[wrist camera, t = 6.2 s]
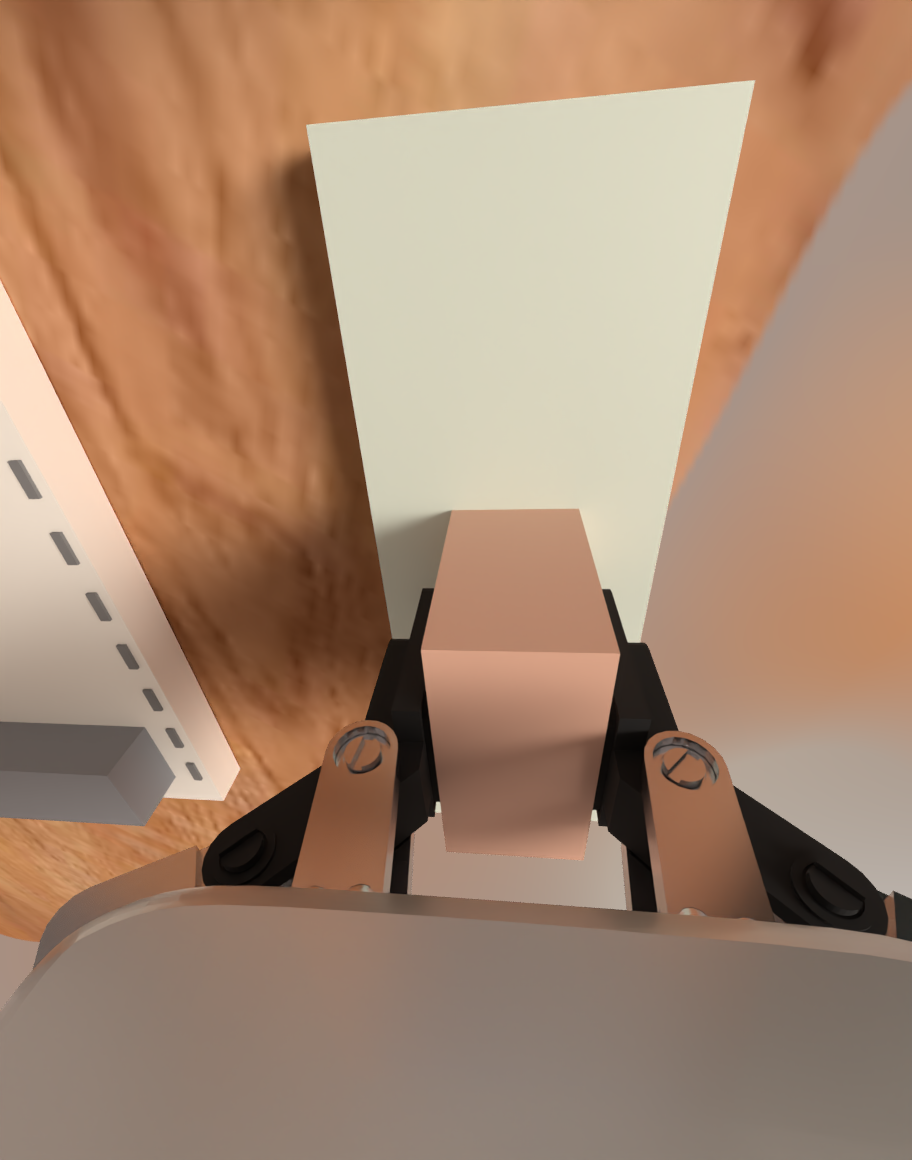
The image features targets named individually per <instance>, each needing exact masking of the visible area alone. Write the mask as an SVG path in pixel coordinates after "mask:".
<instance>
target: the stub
mask: <svg viewBox="0 0 912 1160" xmlns="http://www.w3.org/2000/svg"><path fill="white" fill-rule="evenodd" d="M754 83H755V80H752V81H742V82H732V83H722V84H712V85H702V86H692V87H682V88H672V89H662V90H652V91H642V92H632V93H622V94H612V95H602V96H591V97H581V98H571V99H561V100H551V101H541V102H531V103H521V104H511V105H501V106H491V107H481V108H471V109H461V110H451V111H441V112H431V113H421V114H411V115H401V116H391V117H381V118H371V119H361V120H351V121H341V122H331V123H321V124H311V125H306V127H307V133H308V139H309V145H310V151H311V157H312V163H313V169H314V175H315V181H316V187H317V193H318V199H319V204H320V210H321V216H322V222H323V228H324V234H325V240H326V246H327V252H328V258H329V264H330V270H331V276H332V282H333V288H334V294H335V300H336V306H337V312H338V318H339V324H340V330H341V336H342V342H343V348H344V354H345V360H346V366H347V372H348V377H349V383H350V389H351V395H352V401H353V407H354V413H355V419H356V425H357V431H358V437H359V443H360V449H361V455H362V461H363V467H364V473H365V479H366V485H367V491H368V497H369V503H370V509H371V515H372V521H373V527H374V533H375V539H376V545H377V550H378V556H379V562H380V568H381V574H382V580H383V586H384V592H385V598H386V604H387V610H388V616H389V622H390V628H391V634H392V639H410V635H411V631H412V627H413V623H414V619H415V615H416V611H417V607H418V604H419V600H420V596H421V592H422V589H423V588H434V593H433V597H432V602H431V606H430V611H429V615H428V620H427V624H426V629H425V633H424V638H423V642H422V647H421V655H422V663H423V671H424V679H425V687H426V695H427V702H428V710H429V718H430V726H431V734H432V742H433V750H434V758H435V765H436V773H437V781H438V789H439V797H440V802H436V809H435V812H439V813H442V820H443V828H444V836H445V844H446V851H447V852H459V853H475V854H491V855H508V856H524V857H539V858H554V859H570V860H584V855H585V849H586V843H587V838H588V832H589V827H590V821H598V818H597V812H596V810H593V804H594V799H595V793H596V787H597V782H598V776H599V770H600V765H601V759H602V754H603V748H604V742H605V737H606V731H607V725H608V720H609V714H610V709H611V703H612V697H613V692H614V686H615V680H616V675H617V669H618V664H619V658H620V651H619V647H618V644H617V640H616V637H615V633H614V630H613V626H612V623H611V619H610V616H609V612H608V609H607V605H606V602H605V598H604V595H603V591H602V589H610V590H611V591H612V594H613V597H614V600H615V603H616V607H617V610H618V613H619V616H620V620H621V623H622V626H623V629H624V632H625V636H626V639H627V642H630V643H640V640H641V635H642V630H643V625H644V620H645V615H646V611H647V606H648V601H649V595H650V591H651V586H652V581H653V576H654V571H655V567H656V562H657V557H658V552H659V547H660V542H661V537H662V532H663V527H664V523H665V518H666V513H667V508H668V503H669V498H670V493H671V488H672V483H673V479H674V474H675V469H676V464H677V459H678V454H679V449H680V444H681V439H682V435H683V430H684V425H685V420H686V415H687V410H688V405H689V400H690V395H691V391H692V386H693V381H694V376H695V371H696V366H697V361H698V356H699V351H700V347H701V342H702V337H703V332H704V327H705V322H706V317H707V312H708V307H709V303H710V298H711V293H712V288H713V283H714V278H715V273H716V268H717V263H718V259H719V254H720V249H721V244H722V239H723V234H724V229H725V224H726V219H727V215H728V210H729V205H730V200H731V195H732V190H733V185H734V180H735V175H736V171H737V166H738V161H739V156H740V151H741V146H742V141H743V136H744V131H745V127H746V122H747V117H748V112H749V107H750V102H751V97H752V92H753V87H754Z"/></svg>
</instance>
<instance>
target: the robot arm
mask: <svg viewBox="0 0 912 1160" xmlns="http://www.w3.org/2000/svg"><path fill="white" fill-rule="evenodd" d="M602 591H603V595H604V598H605V602H606V605H607V609H608V612H609V616H610V619H611V623H612V626H613V630H614V633H615V637H616V640H617V644H618V647H619V651H620V658H619V664H618V669H617V675H616V680H615V686H614V692H613V697H612V703H611V709H610V714H609V720H608V725H607V731H606V737H605V742H604V748H603V754H602V759H601V765H600V770H599V776H598V782H597V787H596V793H595V799H594V804H593V810H596V812H597V818H598V824H599V826H607V827H608V831H609V832H610V833H611V834H612V835H613V836H615V837H616V838H617V839H618V840H619V841H620V842H621V852H622V864H623V875H624V886H625V897H626V909H627V910H615V909H602V908H588V907H575V906H562V905H548V904H534V903H521V902H507V901H493V900H492V901H491V900H479V899H465V898H451V897H437V896H422V895H411V890H412V889H411V888H412V873H413V856H414V839H415V834H414V832H415V831H416V830H417V829H418V828H419V827H421V826H422V825H423V824H425V823H426V822H427V821H428V817H434V816H435V809H436V802H440V797H439V789H438V781H437V773H436V765H435V758H434V750H433V742H432V734H431V726H430V718H429V710H428V702H427V695H426V687H425V679H424V671H423V663H422V655H421V647H422V642H423V638H424V633H425V629H426V624H427V620H428V615H429V611H430V606H431V602H432V597H433V593H434V588H423V589H422V592H421V596H420V600H419V604H418V607H417V611H416V615H415V619H414V623H413V627H412V631H411V635H410V639H391V640H390V642H389V644H388V647H387V650H386V654H385V657H384V660H383V663H382V667H381V670H380V673H379V676H378V680H377V683H376V686H375V689H374V693H373V696H372V699H371V702H370V706H369V709H368V712H367V715H366V719H365V721H359V722H355V723H352V724H350V725H348V726H346V727H344V728H343V729H341V730H340V731H339V732H337V733H336V734H335V736H334V737H333V738H332V739H331V740H330V742H329V744H328V747H327V749H326V752H325V756H324V760H323V764H322V766H320V767H319V768H317V769H316V770H314V771H313V772H311V773H310V774H308V775H307V776H305V777H303V778H302V779H300V780H299V781H297V782H296V783H294V784H293V785H291V786H289V787H288V788H286V789H285V790H283V791H282V792H280V793H279V794H277V795H276V796H274V797H272V798H271V799H269V800H268V801H266V802H265V803H263V804H262V805H260V806H259V807H257V808H255V809H254V810H252V811H251V812H249V813H248V814H246V815H245V816H243V817H242V818H240V819H238V820H237V821H235V822H234V823H232V824H231V825H230V826H228V827H227V828H226V829H225V830H223V831H222V832H221V833H220V834H219V835H218V836H217V837H216V839H215V840H214V841H213V842H212V843H211V845H210V846H208V847H206V848H203V849H201V850H199V849H198V847H197V846H194V847H191V848H188V849H186V850H183V851H181V852H178V853H176V854H173V855H171V856H168V857H166V858H163V859H161V860H158V861H156V862H153V863H151V864H148V865H145V866H143V867H140V868H138V869H135V870H133V871H130V872H128V873H125V874H123V875H120V876H118V877H115V878H113V879H110V880H108V881H105V882H102V883H100V884H97V885H95V886H92V887H90V888H88V889H86V890H84V891H82V892H81V893H79V894H77V895H75V896H74V897H72V898H71V899H70V900H69V901H68V902H67V903H66V904H64V905H63V906H62V907H61V908H60V909H59V910H58V911H57V913H56V914H55V915H54V916H53V918H52V919H51V920H50V922H49V923H48V924H47V926H46V929H45V931H44V933H43V935H42V938H41V940H40V944H39V948H38V951H37V955H36V959H35V963H34V967H33V970H32V971H31V973H30V974H29V975H28V976H27V977H26V978H25V980H24V981H23V982H22V983H21V984H20V986H19V987H18V988H17V990H16V991H15V992H14V993H13V995H12V996H11V997H10V999H9V1000H8V1001H7V1002H6V1004H5V1005H4V1006H3V1008H2V1009H1V1010H0V1160H912V899H911V898H908V897H906V896H904V895H902V894H900V893H897V892H895V891H893V892H892V893H891V894H890V895H887V894H884V893H882V892H880V891H878V890H876V888H875V887H874V886H873V885H872V883H871V882H870V881H869V880H868V879H867V878H866V877H865V876H864V874H863V873H861V872H860V871H859V870H858V869H857V868H855V867H854V866H853V865H851V864H850V863H849V862H848V861H846V860H845V859H843V858H842V857H840V856H839V855H837V854H836V853H834V852H833V851H831V850H830V849H828V848H827V847H825V846H824V845H822V844H821V843H819V842H818V841H816V840H815V839H813V838H812V837H810V836H809V835H807V834H806V833H804V832H803V831H801V830H800V829H798V828H797V827H795V826H794V825H792V824H791V823H789V822H788V821H786V820H785V819H783V818H782V817H780V816H778V815H777V814H775V813H774V812H773V811H771V810H769V809H768V808H766V807H765V806H763V805H762V804H760V803H759V802H757V801H756V800H754V799H753V798H751V797H750V796H748V795H747V794H745V793H744V792H742V791H741V790H739V789H738V788H736V787H735V786H733V784H732V780H731V777H730V774H729V771H728V768H727V766H726V763H725V762H724V759H723V757H722V756H721V755H720V754H719V753H718V752H717V750H716V749H715V748H714V747H713V746H711V745H710V744H709V743H707V742H706V741H704V740H703V739H701V738H699V737H697V736H695V735H692V734H690V733H685V732H681V731H678V728H677V725H676V723H675V720H674V717H673V714H672V712H671V709H670V706H669V703H668V700H667V698H666V695H665V692H664V689H663V686H662V684H661V681H660V679H659V676H658V673H657V670H656V667H655V664H654V662H653V659H652V656H651V653H650V650H649V648H648V646H647V645H646V644H645V643H630V642H627V639H626V636H625V632H624V629H623V626H622V623H621V620H620V616H619V613H618V610H617V607H616V603H615V600H614V597H613V594H612V591H611V590H610V589H602Z"/></svg>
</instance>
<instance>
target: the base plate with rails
mask: <svg viewBox="0 0 912 1160" xmlns="http://www.w3.org/2000/svg"><path fill="white" fill-rule="evenodd" d="M239 770H240V767H239V765H238V763H237V761H236V759H235V757H234V755H233V753H232V751H231V749H230V747H229V745H228V743H227V741H226V739H225V737H224V735H223V733H222V731H221V729H220V727H219V724H218V722H217V720H216V718H215V716H214V714H213V712H212V710H211V708H210V706H209V704H208V702H207V700H206V698H205V696H204V694H203V692H202V690H201V688H200V686H199V684H198V682H197V680H196V678H195V676H194V674H193V672H192V670H191V667H190V665H189V663H188V661H187V659H186V657H185V655H184V653H183V651H182V649H181V647H180V645H179V643H178V641H177V639H176V637H175V635H174V633H173V631H172V629H171V627H170V625H169V623H168V621H167V619H166V617H165V615H164V612H163V610H162V608H161V606H160V604H159V602H158V600H157V598H156V596H155V594H154V592H153V590H152V588H151V586H150V584H149V582H148V580H147V578H146V576H145V574H144V572H143V570H142V568H141V566H140V564H139V562H138V560H137V558H136V555H135V553H134V551H133V549H132V547H131V545H130V543H129V541H128V539H127V537H126V535H125V533H124V531H123V529H122V527H121V525H120V523H119V521H118V519H117V517H116V515H115V513H114V511H113V509H112V507H111V505H110V503H109V501H108V498H107V496H106V494H105V492H104V490H103V488H102V486H101V484H100V482H99V480H98V478H97V476H96V474H95V472H94V470H93V468H92V466H91V464H90V462H89V460H88V458H87V456H86V454H85V452H84V450H83V448H82V446H81V443H80V441H79V439H78V437H77V435H76V433H75V431H74V429H73V427H72V425H71V423H70V421H69V419H68V417H67V415H66V413H65V411H64V409H63V407H62V405H61V403H60V401H59V399H58V397H57V395H56V393H55V391H54V389H53V386H52V384H51V382H50V380H49V378H48V376H47V374H46V372H45V370H44V368H43V366H42V364H41V362H40V360H39V358H38V356H37V354H36V352H35V350H34V348H33V346H32V344H31V342H30V340H29V338H28V336H27V334H26V331H25V329H24V327H23V325H22V323H21V321H20V319H19V317H18V315H17V313H16V311H15V309H14V307H13V305H12V303H11V301H10V299H9V297H8V295H7V293H6V291H5V289H4V287H3V285H2V283H1V281H0V817H5V818H21V819H37V820H54V821H70V822H86V823H103V824H119V825H135V826H145V824H146V823H147V821H148V820H149V818H150V817H151V815H152V814H153V812H154V810H155V809H156V807H157V806H158V804H159V803H160V801H161V799H162V798H163V797H164V798H182V799H200V800H219V801H224V799H225V797H226V795H227V793H228V791H229V789H230V787H231V786H232V784H233V782H234V780H235V778H236V776H237V774H238V772H239Z"/></svg>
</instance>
